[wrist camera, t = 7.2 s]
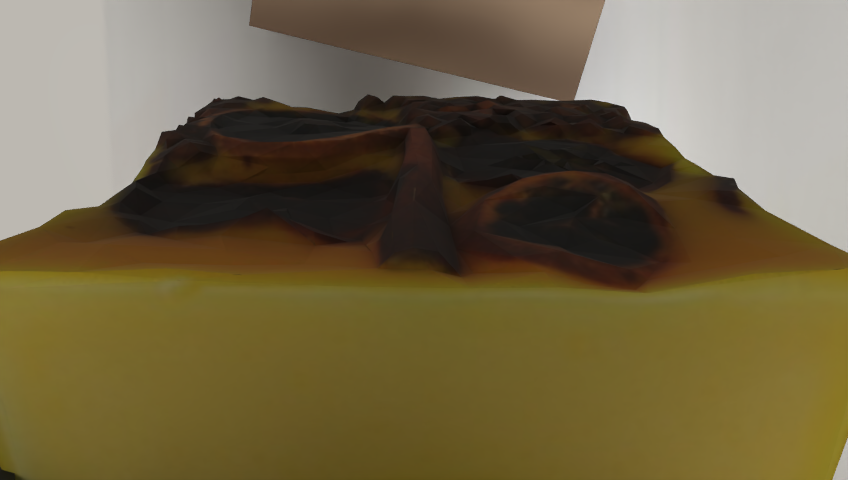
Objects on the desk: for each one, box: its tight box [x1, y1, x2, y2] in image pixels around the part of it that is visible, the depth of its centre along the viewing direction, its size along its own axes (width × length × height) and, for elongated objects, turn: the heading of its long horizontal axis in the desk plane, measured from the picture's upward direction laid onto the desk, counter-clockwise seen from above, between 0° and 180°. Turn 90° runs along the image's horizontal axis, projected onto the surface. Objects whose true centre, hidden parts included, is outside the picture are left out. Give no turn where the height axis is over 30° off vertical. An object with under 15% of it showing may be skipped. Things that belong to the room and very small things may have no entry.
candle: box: [0, 95, 848, 480], centre depth 13 cm, size 10×10×10 cm
